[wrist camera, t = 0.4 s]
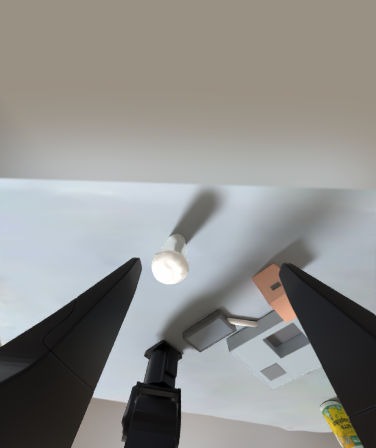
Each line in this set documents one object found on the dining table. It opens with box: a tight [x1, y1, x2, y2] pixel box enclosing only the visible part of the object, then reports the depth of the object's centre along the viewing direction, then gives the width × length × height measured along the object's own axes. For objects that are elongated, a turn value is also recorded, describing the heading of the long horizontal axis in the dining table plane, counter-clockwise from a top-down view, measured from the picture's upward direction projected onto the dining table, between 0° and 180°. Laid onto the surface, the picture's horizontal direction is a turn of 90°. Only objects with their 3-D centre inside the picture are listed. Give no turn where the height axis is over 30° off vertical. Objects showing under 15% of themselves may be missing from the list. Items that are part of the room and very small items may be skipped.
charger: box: [252, 263, 297, 323], centre depth 23 cm, size 5×5×6 cm
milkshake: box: [152, 234, 189, 284], centre depth 19 cm, size 4×5×10 cm
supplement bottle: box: [320, 401, 363, 448], centre depth 32 cm, size 5×5×10 cm
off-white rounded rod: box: [227, 318, 259, 327], centre depth 28 cm, size 7×1×1 cm, turn 81°
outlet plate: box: [226, 310, 322, 390], centre depth 29 cm, size 16×16×2 cm
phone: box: [183, 310, 236, 352], centre depth 29 cm, size 10×6×1 cm, turn 132°
